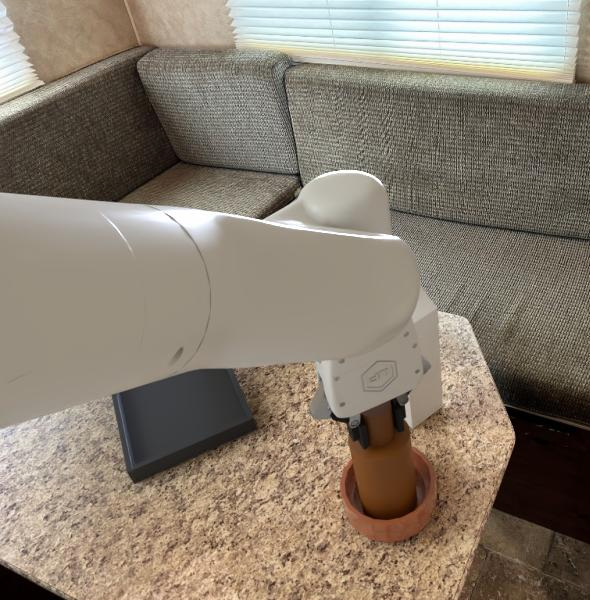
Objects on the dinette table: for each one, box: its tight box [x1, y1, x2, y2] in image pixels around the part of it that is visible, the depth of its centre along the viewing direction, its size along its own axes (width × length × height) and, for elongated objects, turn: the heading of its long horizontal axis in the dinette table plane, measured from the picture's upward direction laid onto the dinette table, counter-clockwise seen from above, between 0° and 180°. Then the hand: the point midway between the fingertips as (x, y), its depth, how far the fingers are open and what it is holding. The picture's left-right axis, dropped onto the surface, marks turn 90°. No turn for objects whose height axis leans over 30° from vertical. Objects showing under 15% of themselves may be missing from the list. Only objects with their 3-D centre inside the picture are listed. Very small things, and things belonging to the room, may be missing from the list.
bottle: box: [347, 400, 417, 520], centre depth 70 cm, size 7×7×18 cm
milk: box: [404, 279, 444, 430], centre depth 81 cm, size 6×6×22 cm
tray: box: [111, 368, 259, 485], centre depth 96 cm, size 18×35×3 cm, turn 28°
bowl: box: [339, 445, 438, 543], centre depth 75 cm, size 12×12×4 cm
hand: (378, 430), depth 67 cm, fingers closed on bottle, 3 cm apart
